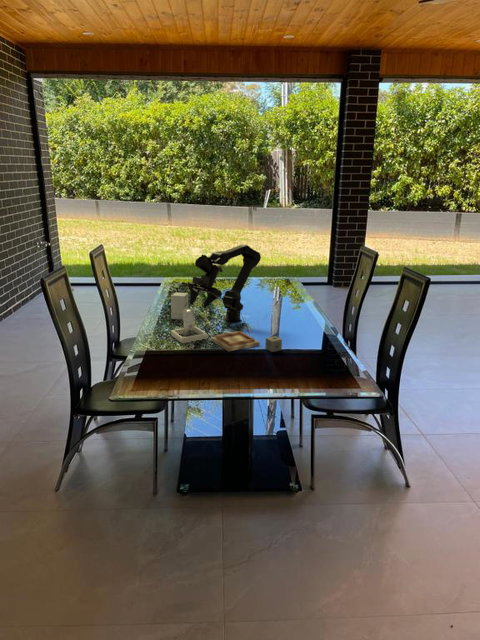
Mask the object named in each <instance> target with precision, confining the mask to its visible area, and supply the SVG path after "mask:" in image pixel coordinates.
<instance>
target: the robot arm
mask: <svg viewBox="0 0 480 640" xmlns="http://www.w3.org/2000/svg"><path fill="white" fill-rule="evenodd" d="M239 256H242V257H243V259H242V264H243V265H242V266H241V269H240V271H239V273H238V275H237V277H236V279H235V281H234V284H233V285H232V287H231V289H230V290H228V289H226V290H225V293H224V295H223V291H221V290H220V289H219V288H217V287H214V284H217V281H216V280H217V278H218V275H219V273H223V272H224V271H223V267H222V266H224V265H226V264H227V263H228V262H229V261H230V260H231V259H234V258H236V257H239ZM261 258H262V255H261V254H260V252H259V251H256V250H255V249H254V248H252V247H250V246H249V245H248V244H243V243H241V244H239V245H237V246H234V247H232V248H229V249H226V250H224V251H223V250H222V251H213V252H211V254H210V255H209V256H207V255H206V254H203V253H202V254H201V255H200V256H199V257H198V258H196V260H195V262H194V265H195V267H196V268H198V269H199V270H201V271H202V272H203V273H204V275H203V274H202V275H201V277H198V276H193V277H192V282H191V281H190V282H188V284H187V285H186V287H187V289H188V290H189V292H190V293H189V294H190V297H189V304H190V305H193V304H194V302H195V301H196V299H197V298H198V297H199V295H200V292H205V293H206V298H205V301H204V303H203V309H207V307H209V306H210V305H211V304H212V303H213V302H214V301H216V300H219V298H222V297H223V298H222V304H223V306H224V309H226V312H225V321H227V322H229V323H232V324H233V323H238V322H242V320H243V319H241V311H242V310H244V305H243V303H241V300H242V297H241V296H242V295H241V293H242V290H243V289H244V287H245V285H246V282H247V281H248V278H249V276H250V275H251V272H252V270H253V269H254V268H255V267H257V266H258V264H259V263H260V261H261ZM218 265H219V266H218ZM222 295H223V296H222Z"/></svg>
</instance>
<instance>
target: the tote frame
mask: <svg viewBox="0 0 480 640" xmlns="http://www.w3.org/2000/svg"><path fill="white" fill-rule="evenodd" d="M194 329H195V333H196V335H194V336H188V337H184V336H182V335H184V327H183V328H178V329H171V330H170V332H171V334H170V335H171V337H173V338H174V339H176V340H177V341H179V342H180V343H181V344H187V343H192V342H191V341H193V342H197V341H196V340H199V341H203V340H202V339H205V340H208V333H207V332H206V331H203V330H202V329H200V328H199V327H198V326H195V325H194ZM197 333H198V334H197ZM179 334H180V335H179ZM186 342H187V343H186Z"/></svg>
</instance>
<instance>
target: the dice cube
mask: <svg viewBox="0 0 480 640" xmlns="http://www.w3.org/2000/svg"><path fill="white" fill-rule="evenodd" d="M282 342H283V339H282V338H280V337H278V336H276V335H275V336H269V337H266V338H265V350H268V351H270V352H271V353H273V352H279V351H283V350H282V348H283V347H282V346H283V344H282Z"/></svg>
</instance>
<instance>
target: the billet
mask: <svg viewBox="0 0 480 640" xmlns="http://www.w3.org/2000/svg"><path fill="white" fill-rule="evenodd" d="M182 321H183V328H184V334H183V337H188V336H194V335H195V333H196V332H195V329H194V327H195V310H194V309H193V308H188V309H185V310H183V320H182Z"/></svg>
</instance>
